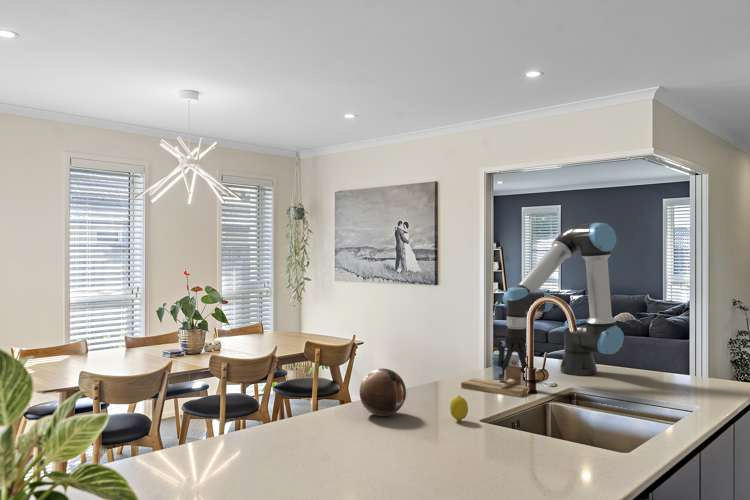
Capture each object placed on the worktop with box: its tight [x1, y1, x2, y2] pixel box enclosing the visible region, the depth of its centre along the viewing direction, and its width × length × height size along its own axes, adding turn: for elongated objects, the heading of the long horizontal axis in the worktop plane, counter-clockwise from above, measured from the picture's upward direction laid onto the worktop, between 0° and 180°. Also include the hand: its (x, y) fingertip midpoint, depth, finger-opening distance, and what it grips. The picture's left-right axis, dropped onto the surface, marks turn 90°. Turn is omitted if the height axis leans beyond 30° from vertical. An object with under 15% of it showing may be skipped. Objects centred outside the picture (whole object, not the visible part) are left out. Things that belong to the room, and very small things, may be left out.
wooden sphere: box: [359, 368, 407, 417], centre depth 191 cm, size 15×15×15 cm
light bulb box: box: [492, 350, 520, 380], centre depth 246 cm, size 11×7×11 cm, turn 73°
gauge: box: [499, 365, 523, 387], centre depth 224 cm, size 14×6×8 cm, turn 142°
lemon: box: [449, 395, 469, 422], centre depth 183 cm, size 6×6×8 cm
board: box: [460, 378, 528, 398], centre depth 225 cm, size 10×24×2 cm, turn 52°
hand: (514, 387), depth 227 cm, fingers closed on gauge, 6 cm apart
